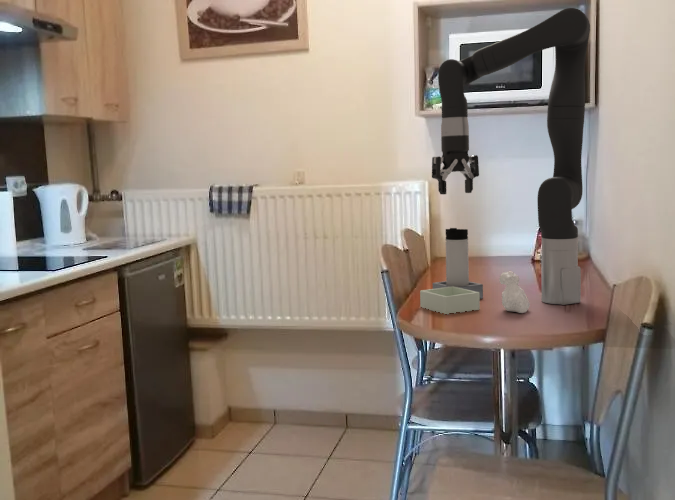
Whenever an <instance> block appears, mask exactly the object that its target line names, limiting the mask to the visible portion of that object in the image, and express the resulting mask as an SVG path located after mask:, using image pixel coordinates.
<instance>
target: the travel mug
mask: <svg viewBox="0 0 675 500" xmlns="http://www.w3.org/2000/svg"><path fill="white" fill-rule="evenodd" d="M468 230H469V229H466V228H457V227H450V228H445V273H446V274H445V277H446V279H445V281H446V285H448V286H454V287H460V286H467V285H469V281H470V279H469V275H470V274H469V273H470V271H469V269H470V268H469V236H468V235H469V231H468Z"/></svg>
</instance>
